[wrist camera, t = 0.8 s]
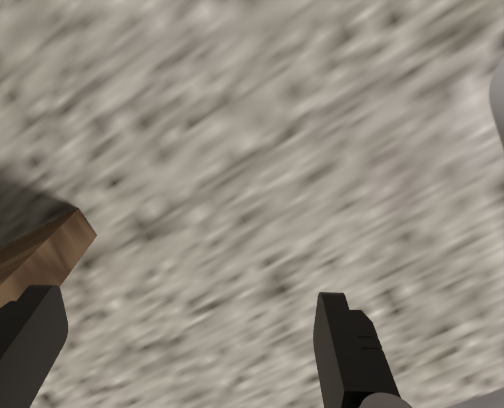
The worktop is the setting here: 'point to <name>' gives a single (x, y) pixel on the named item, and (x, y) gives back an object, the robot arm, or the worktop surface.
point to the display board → (44, 255)
